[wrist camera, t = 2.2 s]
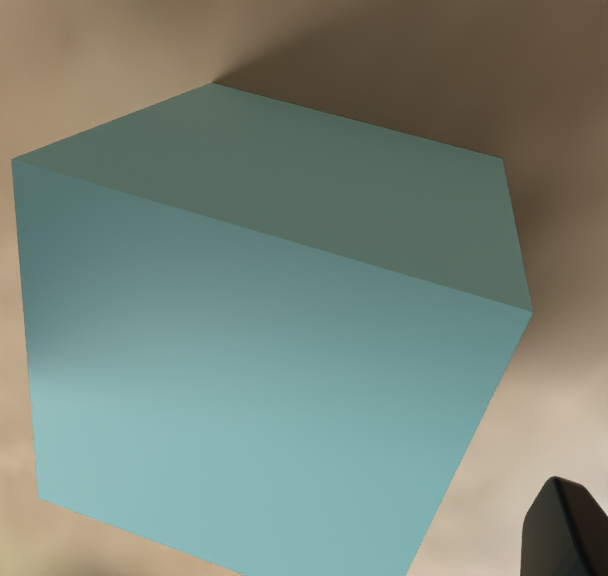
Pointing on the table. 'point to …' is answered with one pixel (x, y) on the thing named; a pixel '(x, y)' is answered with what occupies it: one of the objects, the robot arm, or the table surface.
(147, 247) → the teal cube
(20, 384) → the table surface
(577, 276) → the table surface
